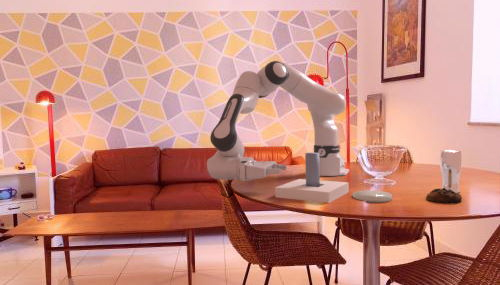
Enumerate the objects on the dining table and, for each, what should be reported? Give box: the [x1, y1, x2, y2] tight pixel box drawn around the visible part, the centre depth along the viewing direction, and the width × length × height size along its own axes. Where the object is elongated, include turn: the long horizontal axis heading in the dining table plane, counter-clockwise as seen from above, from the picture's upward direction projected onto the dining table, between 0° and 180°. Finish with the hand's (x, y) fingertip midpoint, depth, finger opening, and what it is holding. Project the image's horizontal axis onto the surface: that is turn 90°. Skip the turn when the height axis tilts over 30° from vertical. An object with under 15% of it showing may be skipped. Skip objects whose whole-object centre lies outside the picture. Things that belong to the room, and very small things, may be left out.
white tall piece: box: [439, 149, 462, 194], centre depth 148 cm, size 7×7×15 cm
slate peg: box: [305, 152, 321, 187], centre depth 146 cm, size 5×5×15 cm
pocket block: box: [274, 178, 350, 204], centre depth 147 cm, size 20×20×4 cm
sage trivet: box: [352, 190, 393, 204], centre depth 140 cm, size 13×13×2 cm
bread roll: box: [425, 187, 463, 204], centre depth 136 cm, size 11×11×5 cm
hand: (283, 169), depth 149 cm, fingers open, 8 cm apart
